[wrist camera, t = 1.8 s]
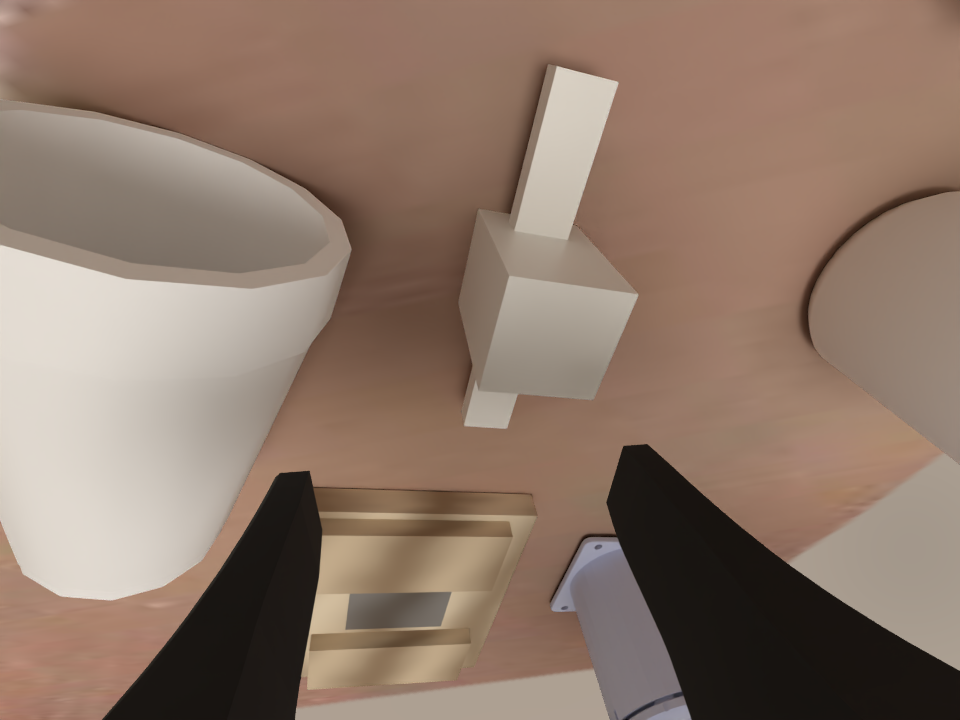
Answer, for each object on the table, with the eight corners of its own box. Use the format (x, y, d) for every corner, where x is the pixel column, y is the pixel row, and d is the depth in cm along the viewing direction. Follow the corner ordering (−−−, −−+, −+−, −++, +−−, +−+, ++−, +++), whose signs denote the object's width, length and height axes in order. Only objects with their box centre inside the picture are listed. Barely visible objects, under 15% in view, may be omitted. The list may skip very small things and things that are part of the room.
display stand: (531, 494, 28) (542, 531, 26) (471, 646, 37) (475, 682, 35) (291, 487, 25) (282, 528, 23) (289, 654, 34) (282, 694, 32)
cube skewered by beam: (623, 83, 17) (719, 108, 12) (518, 402, 24) (550, 499, 19) (510, 54, 16) (564, 68, 11) (438, 396, 23) (450, 496, 18)
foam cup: (284, 453, 24) (360, 200, 17) (233, 656, 16) (335, 335, 10) (47, 409, 20) (38, 80, 14) (-157, 638, 13) (-364, 145, 7)
